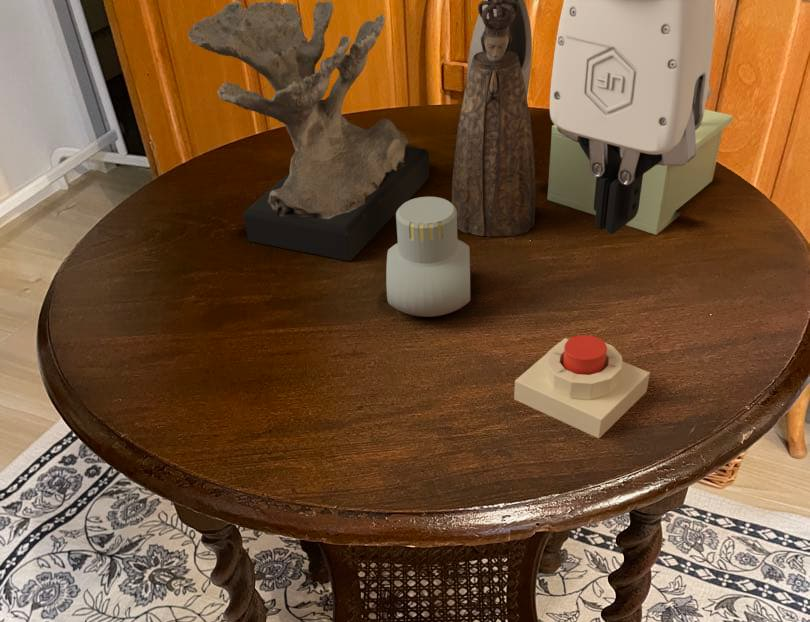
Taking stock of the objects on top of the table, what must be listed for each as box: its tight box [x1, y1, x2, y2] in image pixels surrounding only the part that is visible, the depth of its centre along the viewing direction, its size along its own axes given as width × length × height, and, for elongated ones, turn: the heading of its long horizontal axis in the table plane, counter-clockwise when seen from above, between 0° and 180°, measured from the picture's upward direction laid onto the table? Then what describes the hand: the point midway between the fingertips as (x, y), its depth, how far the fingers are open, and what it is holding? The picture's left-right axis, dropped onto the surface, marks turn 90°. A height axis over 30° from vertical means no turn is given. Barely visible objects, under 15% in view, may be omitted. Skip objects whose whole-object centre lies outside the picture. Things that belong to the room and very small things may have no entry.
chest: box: [546, 129, 724, 236], centre depth 100 cm, size 15×13×8 cm
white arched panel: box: [465, 0, 533, 96], centre depth 105 cm, size 18×7×19 cm, turn 164°
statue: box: [451, 0, 536, 238], centre depth 90 cm, size 9×8×25 cm
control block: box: [513, 337, 651, 439], centre depth 77 cm, size 9×8×4 cm
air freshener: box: [385, 196, 471, 318], centre depth 86 cm, size 11×8×10 cm
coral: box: [188, 0, 430, 262], centre depth 97 cm, size 25×20×21 cm
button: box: [563, 334, 607, 375], centre depth 75 cm, size 4×4×2 cm
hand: (614, 223), depth 67 cm, fingers closed
